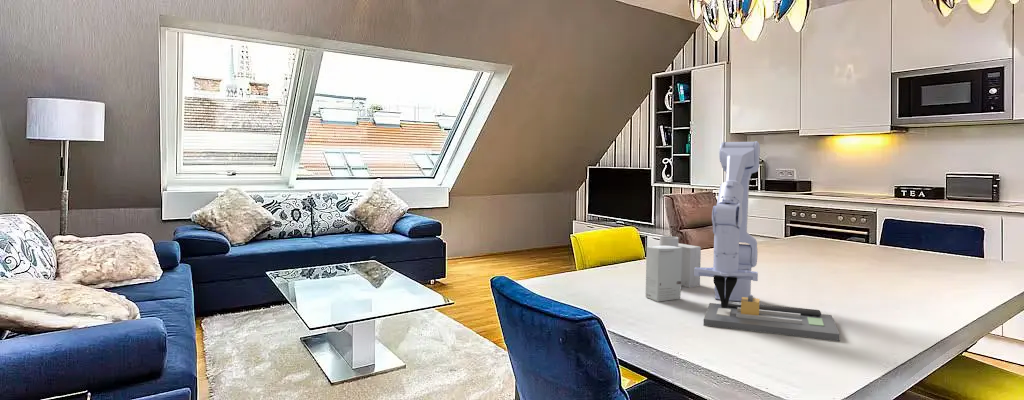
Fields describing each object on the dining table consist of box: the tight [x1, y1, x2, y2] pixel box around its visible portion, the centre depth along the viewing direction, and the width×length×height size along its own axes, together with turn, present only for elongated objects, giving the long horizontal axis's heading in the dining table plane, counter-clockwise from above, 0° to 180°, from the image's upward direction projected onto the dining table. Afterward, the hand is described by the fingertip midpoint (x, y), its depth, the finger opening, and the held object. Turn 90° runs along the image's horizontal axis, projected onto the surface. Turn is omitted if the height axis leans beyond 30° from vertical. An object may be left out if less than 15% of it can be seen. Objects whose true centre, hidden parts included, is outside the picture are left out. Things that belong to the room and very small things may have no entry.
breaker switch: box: [740, 294, 761, 315], centre depth 135 cm, size 4×4×4 cm
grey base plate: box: [703, 300, 841, 342], centre depth 134 cm, size 28×16×3 cm, turn 66°
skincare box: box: [644, 245, 682, 302], centre depth 157 cm, size 8×6×15 cm
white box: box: [659, 235, 702, 288], centre depth 174 cm, size 12×14×15 cm
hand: (724, 306), depth 137 cm, fingers closed
